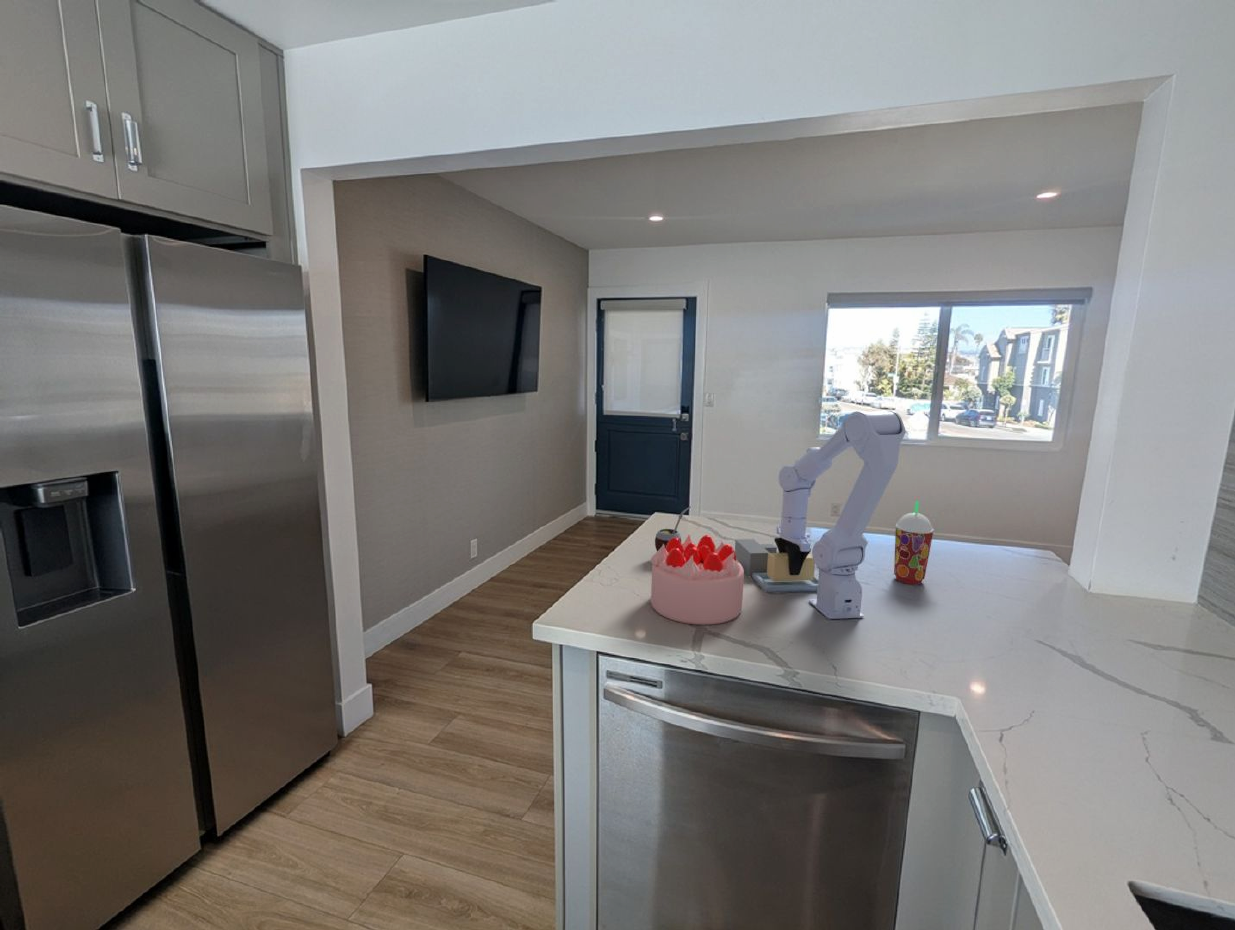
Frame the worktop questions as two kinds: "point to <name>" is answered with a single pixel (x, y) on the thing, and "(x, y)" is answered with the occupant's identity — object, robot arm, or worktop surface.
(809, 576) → the tan block with handle
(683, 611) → the cake
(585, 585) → the worktop surface
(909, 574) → the smoothie
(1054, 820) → the worktop surface
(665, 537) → the mate gourd
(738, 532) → the worktop surface
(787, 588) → the tray
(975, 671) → the worktop surface
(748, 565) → the dock
